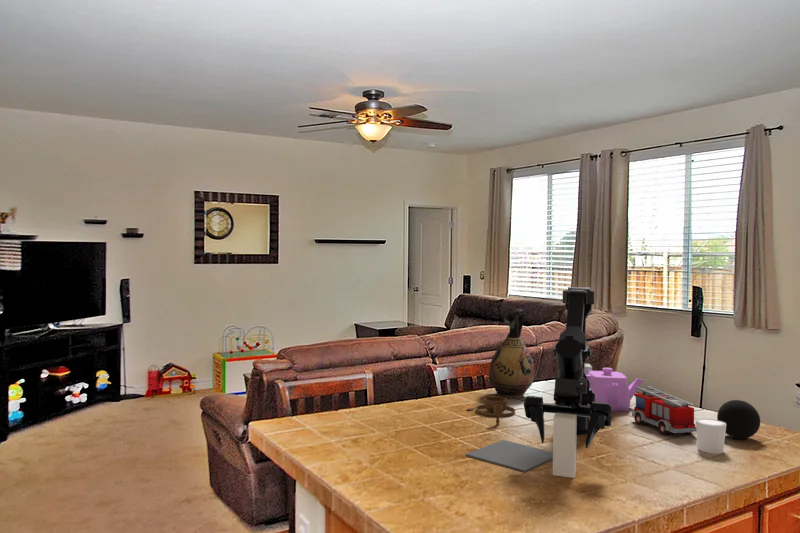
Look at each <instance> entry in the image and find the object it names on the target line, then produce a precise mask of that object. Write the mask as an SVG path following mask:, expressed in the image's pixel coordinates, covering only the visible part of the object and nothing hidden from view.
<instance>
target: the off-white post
mask: <svg viewBox="0 0 800 533" xmlns="http://www.w3.org/2000/svg"><path fill="white" fill-rule="evenodd" d="M552 426H553V427H552V428H553V433H552V434H553V436H552V452H553V459H552V476H557V477H565V478H572V479H573V478H575V476H576V472H577V434H576V433H577V415H575V414H565V413H554V416H553V423H552Z"/></svg>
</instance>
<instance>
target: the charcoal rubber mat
mask: <svg viewBox="0 0 800 533" xmlns="http://www.w3.org/2000/svg"><path fill="white" fill-rule="evenodd" d="M465 456H466V457H469V458H473V459H476V460H479V461H484V462H487V463H491V464H493V465H498V466H501V467H505V468H509V469H512V470H516V471H519V472H523V473H526V472H528V471H531V470H533V469H535V468H537V467H539V466H541V465H544V464H545V463H549V461H553V451H550V450H546V449H541V448H538V447H533V446H529V445H525V444H521V443H516V442H513V441H510V440H505V439H502V440H499V441H497V442H494V443H491V444H488V445H486V446H483V447H481V448H478V449H475V450H473V451H470V452H467V453H465Z"/></svg>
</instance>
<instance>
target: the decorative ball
mask: <svg viewBox="0 0 800 533" xmlns="http://www.w3.org/2000/svg"><path fill="white" fill-rule="evenodd" d="M716 416H717V417H716V420H718V421H722V422H725V423H726V432H725V435H728V436H729V437H731V438H734V439H739V440H743V439H749V438H751V437H753V436H755V435H756V434H757V433H758V431H759V430H760V426H761V417H760V414H759V412H758V410H757V409H756V407H754V406H753V405H752V404H751V403H749V402H748V401H747V402H746V401H745V400H740V399H734V400H729V401H727V402H724V403H723V404H722V405H721V406H719V409H718V411H717V415H716Z"/></svg>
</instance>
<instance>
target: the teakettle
mask: <svg viewBox="0 0 800 533" xmlns="http://www.w3.org/2000/svg"><path fill="white" fill-rule="evenodd" d="M613 370H614V369H613V368H611V367H602V370H592V371H589V373H588V375H586V376H587V378H588V380H589V381H590V389H593V393H594V394H595V402H603V403H609V404H610V405H611V412H629V410H630V407H631V400H632V399H633V397H634V393H637V391H638V389H637V388H636V387H640V386H641V385H642V383H643V382H644V380H643V379H641V378H637V377H636V379H635V380H633V381H632V383H631V382H630V384H629V382H628V381H629V380H628V378H627V376H626V375H625V374H624V373H622V372H620V371H613ZM588 405H590V404H588Z"/></svg>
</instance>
